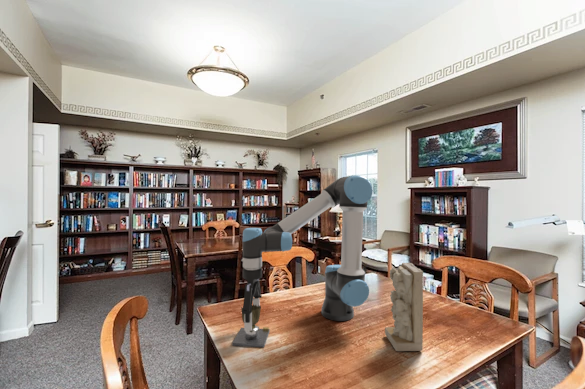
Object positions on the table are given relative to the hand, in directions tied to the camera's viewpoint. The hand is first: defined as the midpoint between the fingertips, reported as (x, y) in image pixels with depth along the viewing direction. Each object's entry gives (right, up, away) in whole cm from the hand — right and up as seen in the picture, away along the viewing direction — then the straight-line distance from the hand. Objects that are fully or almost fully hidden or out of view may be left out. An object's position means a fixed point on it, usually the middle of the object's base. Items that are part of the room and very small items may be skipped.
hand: (252, 321), depth 109 cm
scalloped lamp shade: (0, -1, -4) cm, 4 cm away
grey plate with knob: (0, -6, 0) cm, 6 cm away
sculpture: (+58, -7, -4) cm, 58 cm away
